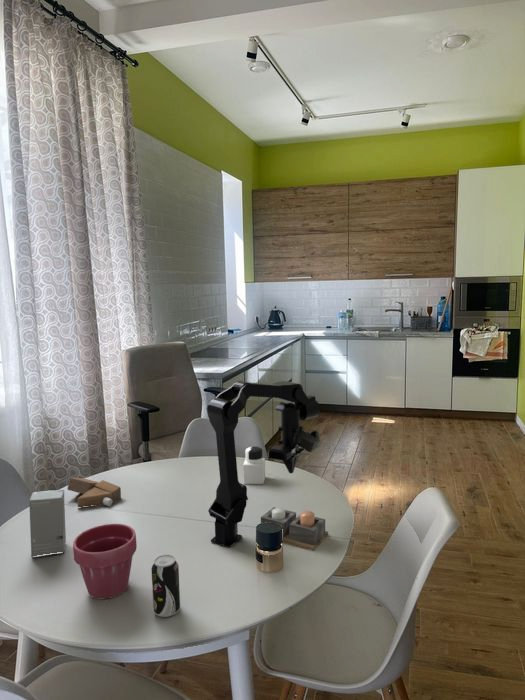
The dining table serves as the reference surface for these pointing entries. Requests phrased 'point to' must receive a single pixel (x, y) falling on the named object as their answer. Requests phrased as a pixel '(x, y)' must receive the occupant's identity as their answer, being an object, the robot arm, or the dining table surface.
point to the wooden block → (94, 492)
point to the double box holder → (298, 530)
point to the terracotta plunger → (307, 518)
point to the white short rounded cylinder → (278, 513)
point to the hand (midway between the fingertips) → (291, 472)
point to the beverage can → (165, 586)
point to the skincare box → (47, 522)
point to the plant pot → (105, 558)
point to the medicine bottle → (254, 466)
